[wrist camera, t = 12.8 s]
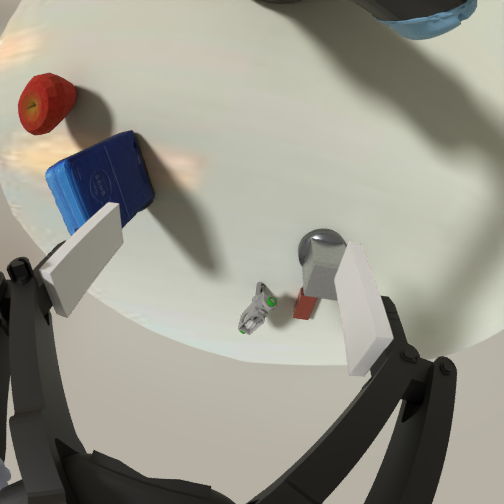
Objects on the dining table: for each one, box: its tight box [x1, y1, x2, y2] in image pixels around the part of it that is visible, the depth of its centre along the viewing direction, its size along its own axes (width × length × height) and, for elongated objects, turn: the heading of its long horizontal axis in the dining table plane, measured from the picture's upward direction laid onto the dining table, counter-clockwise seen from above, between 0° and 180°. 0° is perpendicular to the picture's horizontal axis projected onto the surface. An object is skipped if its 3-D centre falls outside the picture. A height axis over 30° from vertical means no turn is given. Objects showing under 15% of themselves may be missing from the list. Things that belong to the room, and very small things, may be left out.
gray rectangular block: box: [302, 238, 346, 301], centre depth 47 cm, size 6×6×8 cm
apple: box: [18, 73, 77, 135], centre depth 33 cm, size 11×11×12 cm
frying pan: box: [293, 229, 346, 320], centre depth 52 cm, size 22×9×8 cm, turn 172°
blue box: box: [45, 130, 154, 236], centre depth 38 cm, size 14×5×20 cm, turn 11°
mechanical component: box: [238, 282, 277, 335], centre depth 54 cm, size 3×10×10 cm, turn 148°
